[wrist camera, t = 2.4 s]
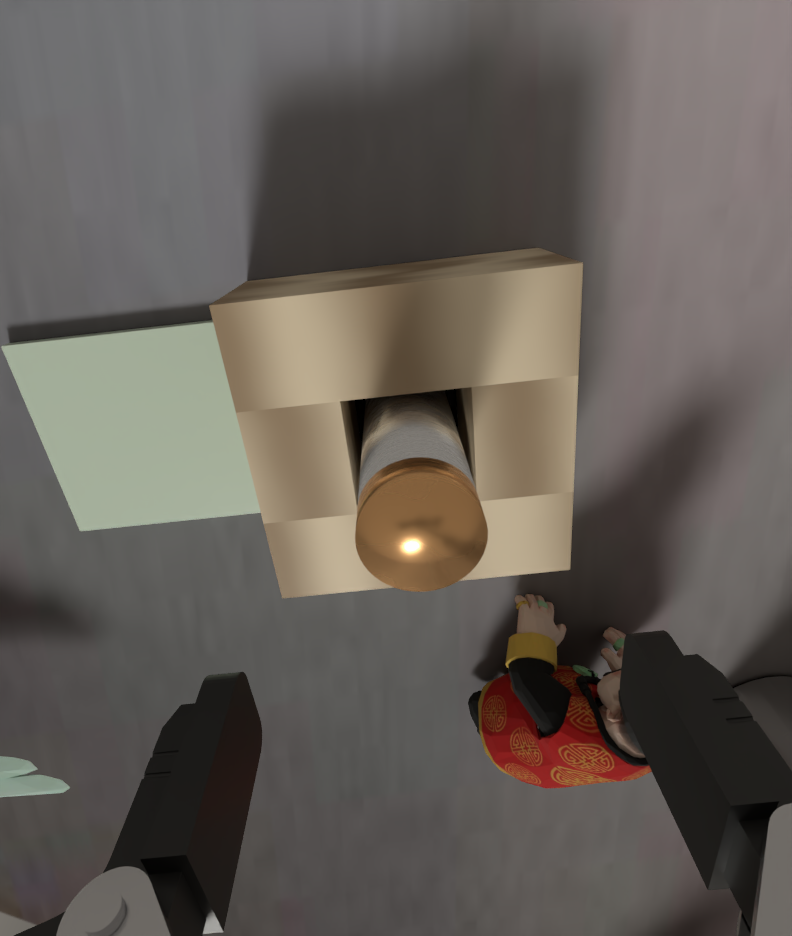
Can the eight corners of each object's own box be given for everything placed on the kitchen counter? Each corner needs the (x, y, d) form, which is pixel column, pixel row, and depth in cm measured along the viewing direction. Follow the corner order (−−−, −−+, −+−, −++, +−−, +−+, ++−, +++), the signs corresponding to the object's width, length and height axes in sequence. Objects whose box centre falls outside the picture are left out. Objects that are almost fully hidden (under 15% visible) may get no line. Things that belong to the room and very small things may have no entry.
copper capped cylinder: (443, 358, 26) (485, 472, 16) (448, 435, 28) (489, 585, 18) (360, 368, 27) (345, 487, 16) (370, 443, 28) (364, 597, 18)
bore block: (538, 247, 24) (582, 262, 19) (536, 502, 30) (570, 569, 25) (246, 281, 25) (209, 305, 19) (299, 526, 30) (282, 598, 25)
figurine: (570, 650, 40) (758, 584, 29) (580, 801, 35) (817, 795, 23) (455, 618, 38) (611, 531, 26) (447, 777, 32) (639, 755, 21)
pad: (221, 318, 25) (218, 321, 25) (267, 506, 30) (265, 512, 29) (9, 343, 26) (0, 346, 25) (85, 525, 30) (80, 531, 30)
